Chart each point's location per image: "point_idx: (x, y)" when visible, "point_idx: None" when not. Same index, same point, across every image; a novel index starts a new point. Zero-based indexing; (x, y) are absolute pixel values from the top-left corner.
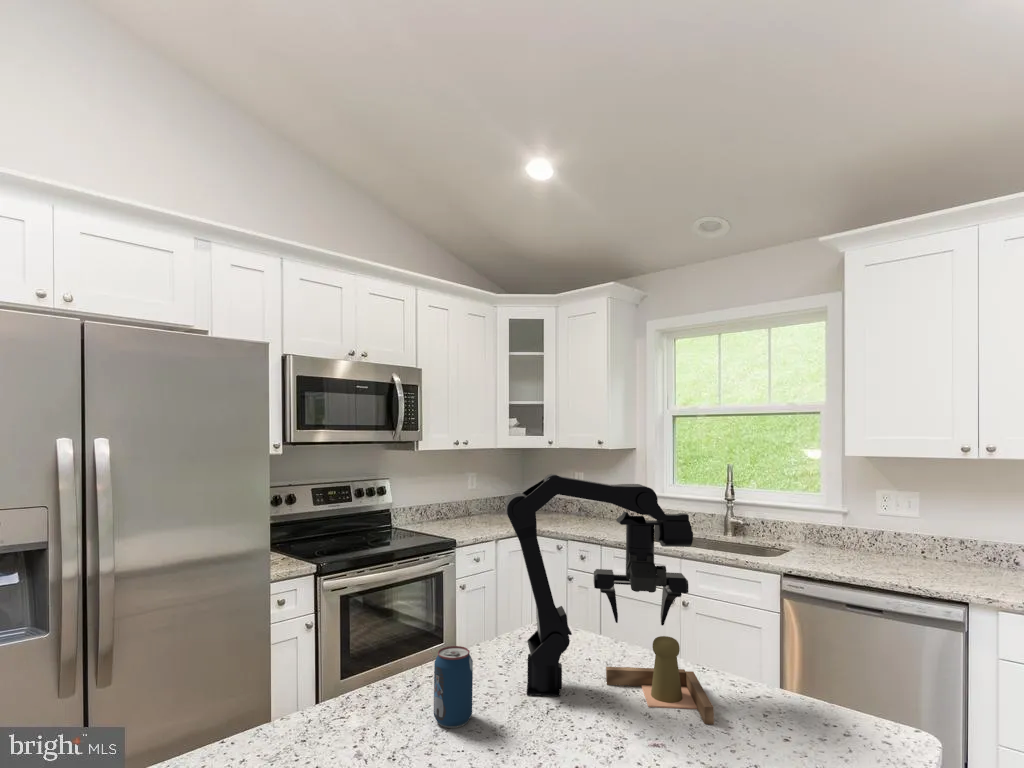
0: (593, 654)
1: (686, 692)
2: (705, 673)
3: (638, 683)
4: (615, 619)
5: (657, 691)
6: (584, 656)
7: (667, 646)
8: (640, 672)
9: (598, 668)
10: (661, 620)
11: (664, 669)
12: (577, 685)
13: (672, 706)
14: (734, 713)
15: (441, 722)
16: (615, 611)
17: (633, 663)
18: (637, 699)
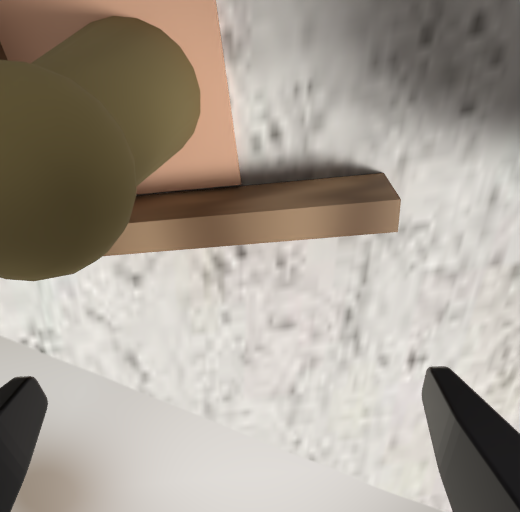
0: (392, 389)
1: None
2: (26, 319)
3: (253, 189)
4: (464, 388)
5: (160, 47)
6: (425, 374)
7: None
8: (242, 209)
9: (393, 302)
10: (12, 414)
11: (78, 58)
12: (514, 146)
13: None
14: None
15: None
16: (513, 464)
17: (265, 351)
18: (261, 47)
